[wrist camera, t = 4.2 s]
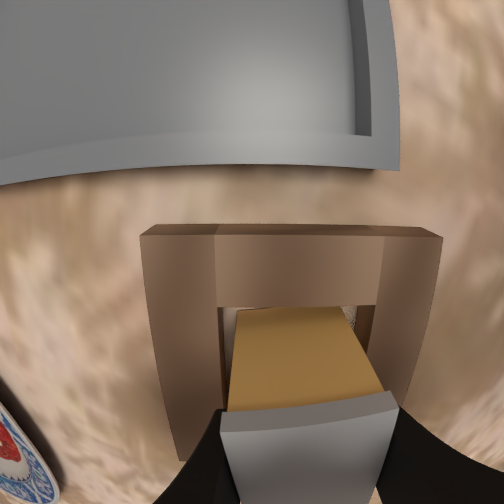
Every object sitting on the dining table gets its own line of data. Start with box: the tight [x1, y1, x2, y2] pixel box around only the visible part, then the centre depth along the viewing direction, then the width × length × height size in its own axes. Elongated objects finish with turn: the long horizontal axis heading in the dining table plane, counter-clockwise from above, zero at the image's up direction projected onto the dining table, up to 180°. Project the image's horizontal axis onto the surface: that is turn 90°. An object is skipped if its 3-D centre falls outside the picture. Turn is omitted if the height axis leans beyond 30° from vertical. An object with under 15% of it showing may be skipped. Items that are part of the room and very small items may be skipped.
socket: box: [140, 224, 443, 461], centre depth 12 cm, size 11×12×2 cm
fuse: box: [220, 306, 399, 504], centre depth 10 cm, size 4×5×6 cm
